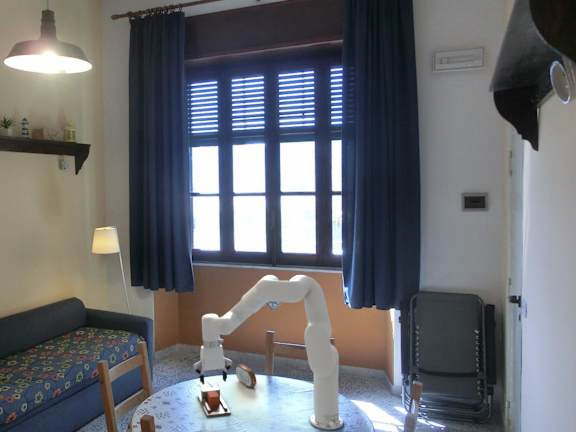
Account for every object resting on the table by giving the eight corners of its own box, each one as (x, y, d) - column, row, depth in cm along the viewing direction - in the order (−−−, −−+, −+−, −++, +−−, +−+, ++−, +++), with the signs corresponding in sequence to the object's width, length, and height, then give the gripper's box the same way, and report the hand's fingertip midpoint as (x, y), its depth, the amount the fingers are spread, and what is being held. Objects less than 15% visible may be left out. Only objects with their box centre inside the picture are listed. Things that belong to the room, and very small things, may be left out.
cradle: (230, 414, 208) (230, 403, 207) (207, 417, 206) (207, 405, 205) (219, 394, 227) (218, 384, 227) (197, 397, 225) (197, 386, 225)
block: (207, 400, 220) (207, 391, 219) (216, 399, 220) (215, 390, 220) (210, 406, 214) (210, 397, 213) (219, 405, 214) (219, 396, 214)
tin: (257, 389, 232) (256, 371, 231) (251, 390, 230) (250, 372, 230) (240, 378, 245) (239, 361, 245) (234, 379, 244) (234, 362, 243)
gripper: (228, 338, 220) (230, 376, 221) (190, 342, 217) (192, 381, 218) (233, 343, 213) (235, 382, 214) (193, 348, 210) (195, 387, 211)
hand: (213, 381), depth 216 cm, fingers open, 9 cm apart
